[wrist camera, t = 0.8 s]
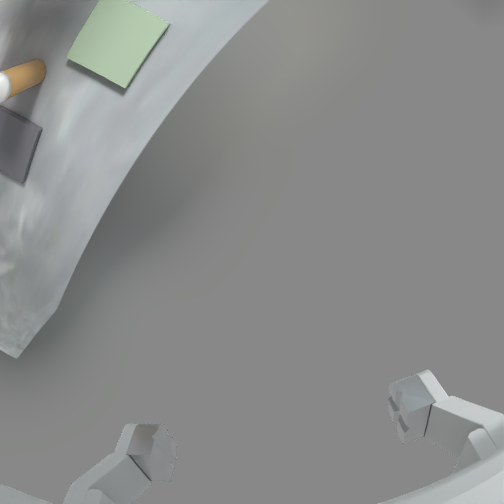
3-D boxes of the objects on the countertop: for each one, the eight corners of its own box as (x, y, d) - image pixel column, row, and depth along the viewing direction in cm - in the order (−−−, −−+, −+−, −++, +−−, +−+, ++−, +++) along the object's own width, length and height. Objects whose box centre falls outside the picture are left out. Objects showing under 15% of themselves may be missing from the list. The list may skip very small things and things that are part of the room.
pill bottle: (21, 79, 38) (-22, 99, 28) (31, 55, 36) (-12, 69, 26) (40, 89, 41) (-1, 111, 30) (50, 64, 38) (9, 80, 28)
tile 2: (69, 56, 38) (65, 57, 37) (108, -8, 32) (105, -9, 31) (127, 86, 44) (124, 88, 43) (170, 23, 38) (169, 23, 37)
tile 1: (-16, 156, 46) (-20, 159, 44) (-3, 103, 40) (-7, 106, 38) (25, 179, 52) (22, 183, 50) (42, 128, 46) (38, 130, 44)
